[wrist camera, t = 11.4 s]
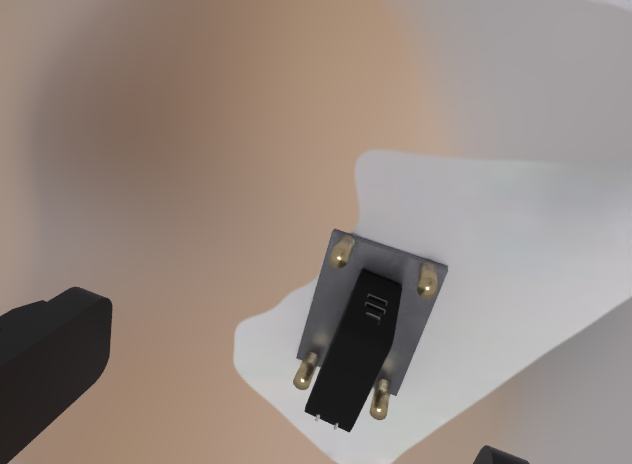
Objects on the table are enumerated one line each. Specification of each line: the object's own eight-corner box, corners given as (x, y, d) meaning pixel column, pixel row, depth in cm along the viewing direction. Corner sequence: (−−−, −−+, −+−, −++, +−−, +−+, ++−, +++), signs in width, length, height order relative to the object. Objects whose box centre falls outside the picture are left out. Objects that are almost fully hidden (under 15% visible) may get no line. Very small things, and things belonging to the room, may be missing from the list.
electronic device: (404, 284, 42) (394, 343, 33) (366, 364, 46) (348, 437, 37) (362, 266, 42) (341, 321, 33) (328, 348, 46) (301, 416, 37)
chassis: (334, 226, 43) (322, 245, 38) (448, 264, 41) (449, 288, 37) (298, 354, 49) (284, 383, 44) (396, 391, 47) (391, 425, 43)
